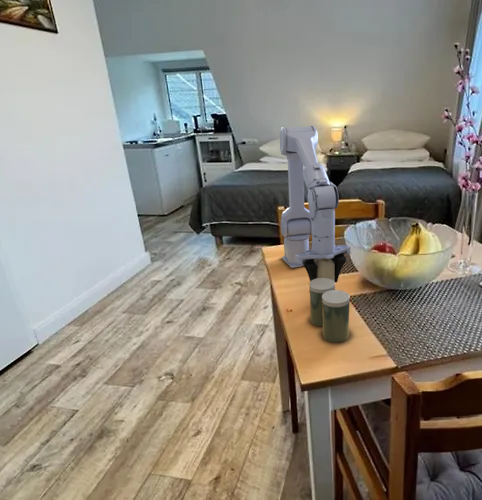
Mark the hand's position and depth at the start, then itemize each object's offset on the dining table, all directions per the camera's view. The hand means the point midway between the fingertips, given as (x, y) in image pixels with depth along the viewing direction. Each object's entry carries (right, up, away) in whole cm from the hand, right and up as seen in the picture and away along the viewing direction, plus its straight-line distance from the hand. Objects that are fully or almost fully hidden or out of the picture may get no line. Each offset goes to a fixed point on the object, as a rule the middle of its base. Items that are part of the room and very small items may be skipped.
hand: (323, 283), depth 100 cm
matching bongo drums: (+1, -10, -9) cm, 13 cm away
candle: (0, -3, +1) cm, 3 cm away
